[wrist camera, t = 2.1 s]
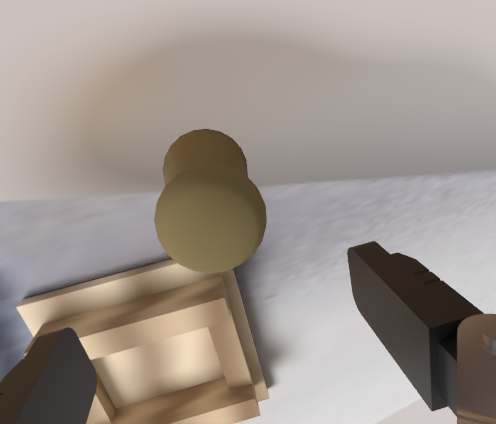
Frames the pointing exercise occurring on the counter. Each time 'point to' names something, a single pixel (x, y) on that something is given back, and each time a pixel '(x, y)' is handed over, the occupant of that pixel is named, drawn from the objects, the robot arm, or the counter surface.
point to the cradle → (160, 344)
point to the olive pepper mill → (209, 204)
